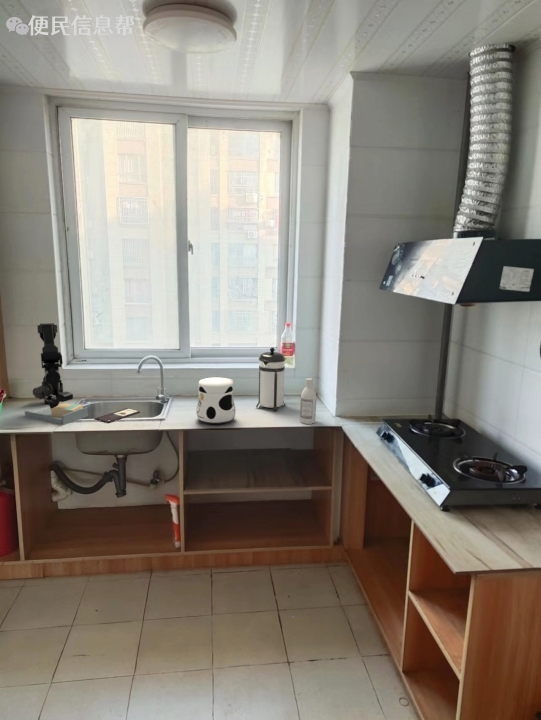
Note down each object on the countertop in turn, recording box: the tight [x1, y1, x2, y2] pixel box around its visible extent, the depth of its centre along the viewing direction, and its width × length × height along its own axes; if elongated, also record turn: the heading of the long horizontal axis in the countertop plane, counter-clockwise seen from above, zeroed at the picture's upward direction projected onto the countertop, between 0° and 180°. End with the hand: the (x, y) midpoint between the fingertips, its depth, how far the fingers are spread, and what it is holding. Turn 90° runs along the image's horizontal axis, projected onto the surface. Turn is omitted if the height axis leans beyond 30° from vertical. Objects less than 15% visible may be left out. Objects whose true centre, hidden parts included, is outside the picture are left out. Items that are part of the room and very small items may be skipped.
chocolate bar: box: [94, 408, 141, 424], centre depth 211 cm, size 9×1×18 cm
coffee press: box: [255, 347, 286, 412], centre depth 228 cm, size 17×16×30 cm
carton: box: [51, 402, 84, 419], centre depth 204 cm, size 8×10×5 cm
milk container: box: [196, 377, 236, 425], centre depth 207 cm, size 17×17×18 cm
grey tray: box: [24, 406, 89, 426], centre depth 204 cm, size 13×24×6 cm, turn 65°
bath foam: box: [299, 377, 317, 425], centre depth 207 cm, size 7×7×20 cm
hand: (53, 412), depth 206 cm, fingers closed
